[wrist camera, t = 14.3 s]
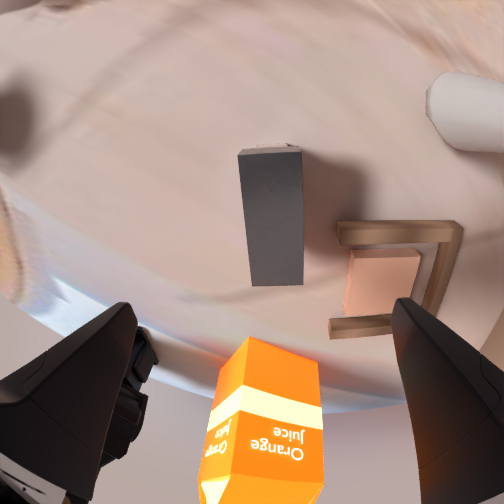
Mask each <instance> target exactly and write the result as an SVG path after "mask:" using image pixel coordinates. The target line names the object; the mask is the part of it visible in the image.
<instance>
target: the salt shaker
mask: <svg viewBox="0 0 504 504" xmlns="http://www.w3.org/2000/svg"><path fill="white" fill-rule="evenodd" d="M426 115H427V116H428V117H429V118H430V120H431V121H432V122H433V124H434V126H435V128H436V130H437V132H438V133H439V135H440V136H441V137H442V138H443V139H444V140H445V141H446V142H447V143H448V144H449V145H451V146H452V147H454V148H457V149H461V150H465V151H483V152H500V153H504V83H503V82H499V81H496V80H493V79H489V78H485V77H482V76H478V75H474V74H469V73H465V72H460V71H452V72H447V73H443V74H440V75H439V77H438V78H437V79H436V80H435V81H434V82H433V83H432V85H431V86H430V87H429V88H428V90H427V91H426Z"/></svg>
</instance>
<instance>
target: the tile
mask: <svg viewBox="0 0 504 504" xmlns="http://www.w3.org/2000/svg"><path fill="white" fill-rule="evenodd" d="M420 258H421V256H420V255H419V253H418V252H417V251H416V250H415V248H412V249H366V250H351V254H350V262H349V270H348V277H347V284H346V290H345V297H344V303H343V309H344V313H345V316H360V315H374V314H387V313H392V311H393V308H394V304H395V301H396V299H397V298H402V297H410V294H411V290H412V287H413V284H414V280H415V277H416V273H417V270H418V266H419V262H420Z"/></svg>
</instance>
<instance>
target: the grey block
mask: <svg viewBox="0 0 504 504" xmlns="http://www.w3.org/2000/svg"><path fill="white" fill-rule="evenodd" d="M238 163H239V173H240V182H241V191H242V200H243V209H244V218H245V227H246V236H247V245H248V254H249V263H250V272H251V281H252V286H288V285H303V270H304V221H303V179H302V154H301V150H300V148H299V147H298V146H287V143H282V144H263V145H257V146H256V148H253V149H243V150H242V151H241V152H240V153H239V154H238Z"/></svg>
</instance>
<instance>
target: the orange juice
mask: <svg viewBox="0 0 504 504" xmlns="http://www.w3.org/2000/svg"><path fill="white" fill-rule="evenodd" d="M322 430H323V425H322V408H321V402H320V388H319V376H318V365H317V362H314V361H311V360H309V359H306V358H303V357H300V356H298V355H295V354H292V353H290V352H287V351H284V350H282V349H279V348H277V347H274V346H272V345H269V344H267V343H264V342H262V341H259V340H257V339H254V338H252V337H250V336H249V337H248V338H247V340H246V341H245V342H244V343H243V344H242V346H241V347H240V348H239V349H238V350H237V351H236V352H235V354H234V355H233V356H232V357H231V358H230V359H229V361H228V362H227V363H226V364H225V365H224V366H223V367H222V368H221V370H220V373H219V378H218V383H217V388H216V393H215V397H214V403H213V407H212V412H211V414H210V419H209V424H208V429H207V436H206V441H205V446H204V451H203V456H202V461H201V466H200V471H199V476H198V483H199V494H200V504H314V503H315V501H316V499H317V497H318V495H319V493H320V491H321V489H322V487H323V485H324V467H323V466H324V465H323V437H322Z"/></svg>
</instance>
